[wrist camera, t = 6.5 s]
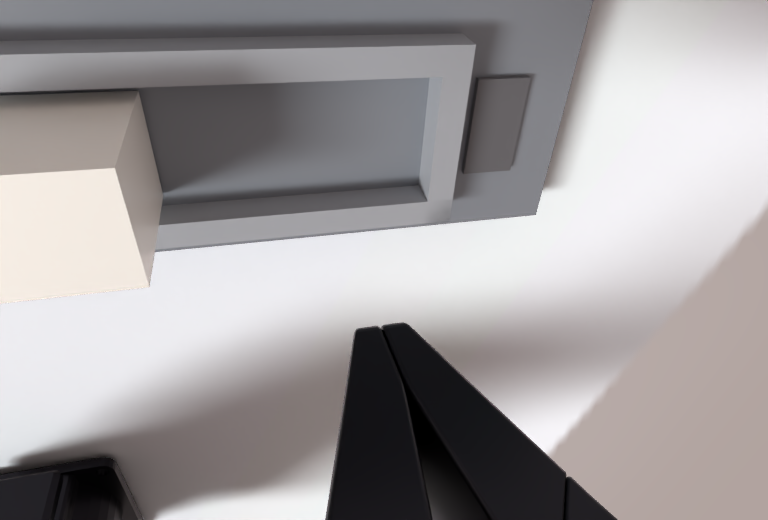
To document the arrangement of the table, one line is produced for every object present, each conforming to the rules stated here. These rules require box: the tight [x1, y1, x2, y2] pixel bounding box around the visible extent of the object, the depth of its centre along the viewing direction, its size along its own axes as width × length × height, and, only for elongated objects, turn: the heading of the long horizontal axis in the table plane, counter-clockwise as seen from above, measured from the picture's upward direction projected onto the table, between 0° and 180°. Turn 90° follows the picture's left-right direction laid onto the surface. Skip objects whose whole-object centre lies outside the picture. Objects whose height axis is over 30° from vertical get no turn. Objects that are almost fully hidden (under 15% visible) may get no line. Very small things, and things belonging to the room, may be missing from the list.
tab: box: [0, 91, 163, 304], centre depth 12 cm, size 3×4×4 cm
